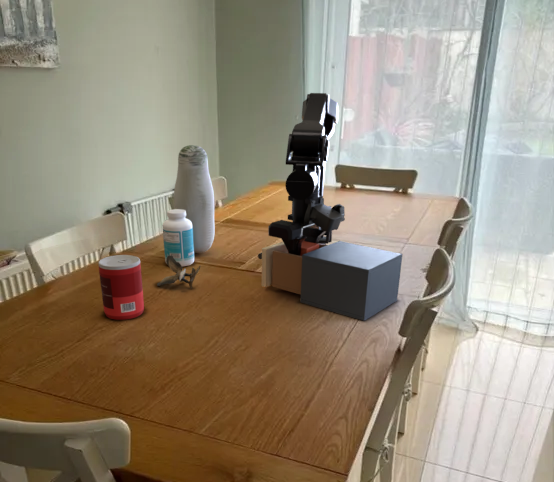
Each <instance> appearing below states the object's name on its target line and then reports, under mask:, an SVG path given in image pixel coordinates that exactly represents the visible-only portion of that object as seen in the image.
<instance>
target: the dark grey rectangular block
mask: <svg viewBox="0 0 554 482" xmlns="http://www.w3.org/2000/svg"><path fill="white" fill-rule="evenodd" d="M326 245H327V246H324V247H322V248H319V249H316V250H314V251H311V252H308V253H306V254H303V255H302V274H301V294H300V300H299V301H300V303H301V304H305V305H308V306H311V307H315V308H318V309H321V310H325V311H329V312H333V313H336V314H340V315H342V316H346V317H350V318H353V319H356V320H360V321H363V322H365V321H367V320H368V319H369V318H371V317H373V316H375V315H376V314H378V313H379V312H381V311H383V310H384V309H387V307H390V306H391V305H392V304H394V303H396V302H397V301H398V298H399V297H398V295H399V287H400V280H401V279H400V278H401V271H402V262H403V253H402V252H401V253H400V252H396V251H391V250H386V249H381V248H376V247H372V246H367V245H363V244H357V243H352V242H349V241H348V242H347V241H342V240H338V241H336V242H335V241H334V242H333V243H332V242H331V243H330V244H326Z"/></svg>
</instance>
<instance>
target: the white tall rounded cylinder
mask: <svg viewBox="0 0 554 482" xmlns="http://www.w3.org/2000/svg"><path fill="white" fill-rule="evenodd" d="M177 156H178V157H177V173H176V179H175V183H174V188H173V189H174V190H173V201H174V202H173V203H174V204H173V205H174V209H182V210H186V217H185V218H186V219H188V220H190V221H191V222H192V228H193V245H194V254H203V253H206V252H208V251H209V250H210V249H211V247H212V245H213V243H214V240H215V230H216V229H215V225H216V224H215V192H214V187H213V183H212V178H211V175H210V170H209V169H210V168H209V159H208V158H209V157H208V154H207V152H206V150H205V149H204V148H203V147H201V146H199V145H193V144H190V145H186V146H183V147H182V148H181V149H180V150H179V152H178V155H177Z"/></svg>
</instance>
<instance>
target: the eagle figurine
mask: <svg viewBox="0 0 554 482" xmlns="http://www.w3.org/2000/svg"><path fill="white" fill-rule="evenodd" d="M166 259H167V260H166V262H167V264H166V265H167V267H169V268H170V270H171V272H173V273H175V274H174V275H169V276H165V277H164V278H162V279H161V281H159V282H157V283H156V286H157V287H160V286H164V285H167V284H168V285H173V284H175V283H176V282H177V281H179V282H180V283H182V284H184V283H185V284H188V286H189V288H190V289H191V290H192V289H193V283H194V280H195V278H196V275H197V274H198V273H199V271H200V269H201V265H199V266H198V267H197V268H194V267H192V268H191V273H187V272H186V271H187V269H186V268H183V267H184V266H183V267H182V266H181V264H180V263H179V262H176V261H175V259H174V258H173V256H172V255H170V256H168V257H167V258H166ZM166 262H165V263H166ZM185 277H189V280H188V279H187V278H185Z"/></svg>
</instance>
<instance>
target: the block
mask: <svg viewBox="0 0 554 482" xmlns="http://www.w3.org/2000/svg"><path fill="white" fill-rule="evenodd" d="M316 249H319V244H316V243H311V242H307V241H303V242H302V244H301V252H300V256H302V255H303V254H306V253H308V252H311V251H314V250H316ZM288 253H289V252H288Z"/></svg>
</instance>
